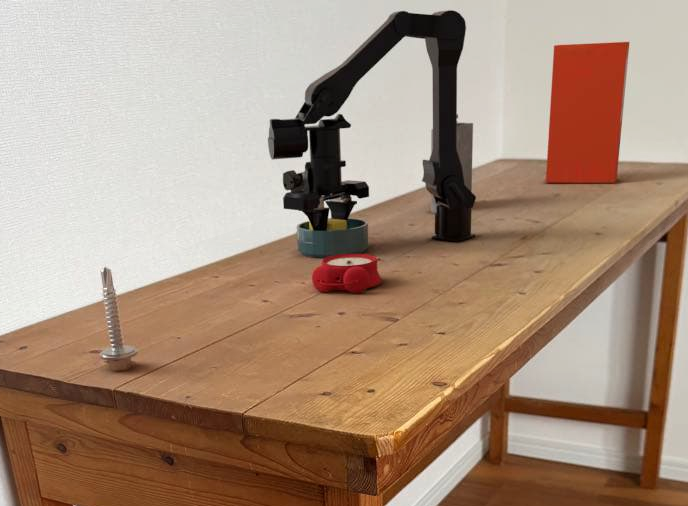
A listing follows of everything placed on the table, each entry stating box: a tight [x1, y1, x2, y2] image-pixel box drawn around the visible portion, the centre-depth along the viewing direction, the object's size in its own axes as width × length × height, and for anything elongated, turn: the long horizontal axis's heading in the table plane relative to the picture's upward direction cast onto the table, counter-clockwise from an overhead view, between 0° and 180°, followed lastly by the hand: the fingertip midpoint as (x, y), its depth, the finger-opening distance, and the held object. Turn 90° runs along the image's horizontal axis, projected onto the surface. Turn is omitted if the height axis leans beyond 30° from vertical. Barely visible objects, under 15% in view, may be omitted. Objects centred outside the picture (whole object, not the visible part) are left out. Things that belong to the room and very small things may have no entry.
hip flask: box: [430, 113, 474, 214], centre depth 216 cm, size 16×4×20 cm, turn 144°
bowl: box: [296, 217, 370, 259], centre depth 182 cm, size 14×14×5 cm
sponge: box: [308, 217, 347, 231], centre depth 182 cm, size 6×4×5 cm
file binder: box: [545, 41, 630, 184], centre depth 239 cm, size 8×17×32 cm, turn 71°
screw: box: [99, 266, 138, 372], centre depth 120 cm, size 13×5×5 cm
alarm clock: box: [311, 253, 382, 294], centre depth 155 cm, size 10×6×15 cm
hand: (328, 242), depth 183 cm, fingers closed on sponge, 4 cm apart
